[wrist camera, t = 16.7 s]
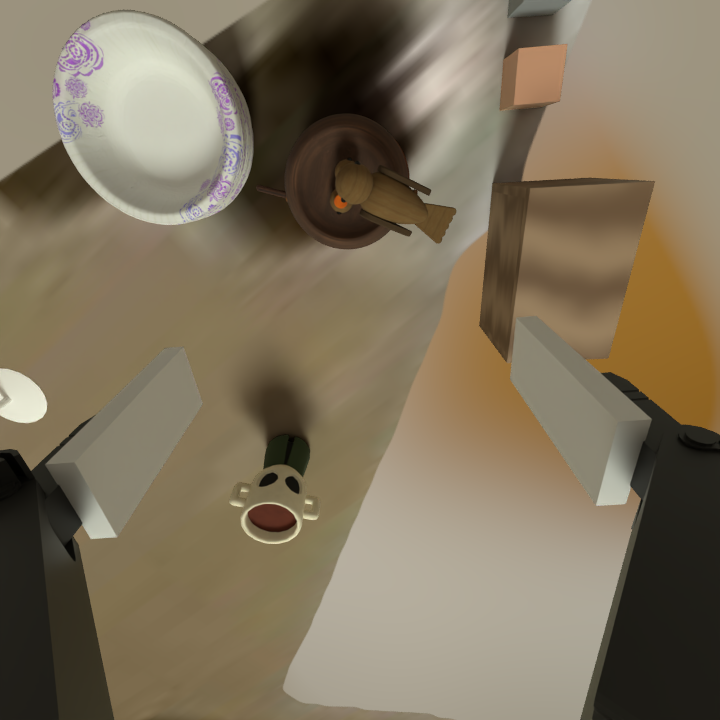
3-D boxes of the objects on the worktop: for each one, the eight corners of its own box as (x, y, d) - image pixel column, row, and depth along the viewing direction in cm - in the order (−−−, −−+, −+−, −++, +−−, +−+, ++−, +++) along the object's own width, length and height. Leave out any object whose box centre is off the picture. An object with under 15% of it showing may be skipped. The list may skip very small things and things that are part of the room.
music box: (430, 123, 38) (485, 125, 21) (412, 237, 44) (444, 310, 27) (274, 108, 37) (200, 96, 20) (277, 225, 43) (221, 292, 26)
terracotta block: (503, 60, 36) (518, 48, 32) (546, 56, 36) (567, 44, 32) (499, 110, 38) (513, 105, 34) (540, 107, 38) (559, 101, 34)
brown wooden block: (492, 183, 40) (530, 188, 32) (589, 177, 40) (655, 181, 31) (479, 325, 48) (506, 362, 39) (561, 321, 47) (608, 358, 38)
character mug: (330, 438, 55) (323, 510, 44) (320, 475, 59) (310, 551, 47) (255, 422, 54) (226, 492, 43) (248, 460, 57) (220, 535, 46)
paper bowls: (91, 28, 35) (22, -8, 28) (261, 50, 36) (236, 21, 28) (120, 208, 42) (71, 216, 35) (262, 223, 42) (243, 235, 35)
